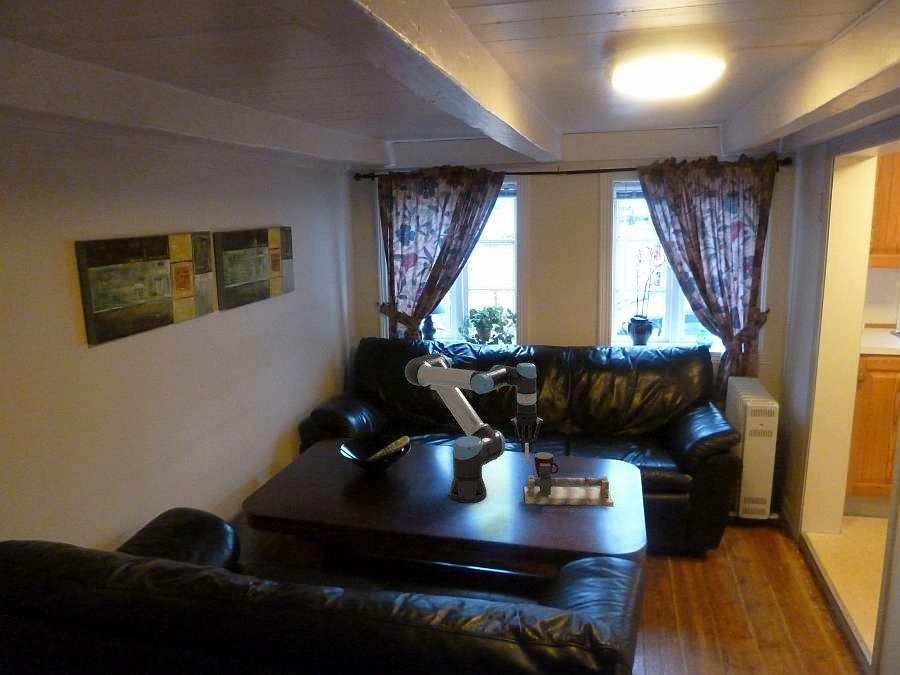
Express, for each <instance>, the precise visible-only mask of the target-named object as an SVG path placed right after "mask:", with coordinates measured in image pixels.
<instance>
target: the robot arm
mask: <svg viewBox="0 0 900 675" xmlns="http://www.w3.org/2000/svg"><path fill="white" fill-rule="evenodd" d="M404 376H405V378H406V380H407V381H408V382H409V383H410V384H412V385H415V386H420V387H427V386H428V387H429V388H430V390H434V391H436V392H437V394H438V395H439V397H440V398H441V400H442V401H443V403H444V404H445V406H446V408H448V410H449V411H450V413H451V414H452V415H453V418H454V419H455V420H456V421H457V423H458V425H459V426H460V427H461V429H462V430H463V432H464V433H465V435H466V436H461V437H459V438H457V439H456V440H455V441H454V443H453V445H452V465H453V466H452V470H453V471H452V472H453V478H452V481H451V483H450V487H449V491H448V492H449V497H450V499H451V500H453V501H456V502H458V503H463V504H466V503H467V504H470V503H472V504H473V503H479V502H480V501H483V500H484V499H486V498H487V496H488V494H487V487H486V484H485V480H484V478H483V466H485V465H487V464H489V463H491V462H493V461H495V460H497V459H498V458H500V457H501V456H503V454H504V453H505V451H506V439H505V437H504V435H503V434H502V432H501V431H499V430H496V429H492V427H491V426H490V425H489V424H488V423H484V422H483V421H482V419H481V418H480V417H479V415H478V414H477V412H476V410H475V409H474V408H473V406H472V405H471V403H470V402H469V401H468V400H467V398H466V397H465V395H464V394H463V393H462V391H461V390H460V389H464V390H470V391H473V392H475V393H476V394H478V395H482V394H487V393H489V392H492V391H494V390H497V389H500V388H502V387H505V386H510V387H516V402H517V403H516V415H515V417H514V418H511V419H510V423H511V425H512V426H513V430H514V434H515V437H516V441H517V444H521V452H522V453H524V461H525V462H529V461H530V453H532V451H533V450H532V448H533V447H532V445H534V444H536V443H537V442H538V441H537V440H538V438H539V437H538V436H539V432H540V429H541V426H542V425H543V423H544V420H543V419H542V418H540V417H538V414H537V403H536V402H537V377H538V376H537V367H536V365H535V364H533V363H531V362H521V363H518V364H517V365H516V367H515V366H508V365H507V366H506V365H504V364H496V365H495V364H494V365H493V366H492V367H491V368H490V369H489V370H487V371H479V370H472V369H471V370H468V369H463V368H462V369H460V368H452V363H451V361H450V359H449V357H448V356H446V355H445V354H443V353H440V352H433V353H428V354H426V355H423V356H419V357H418V356H417V357H414V358H413V359H411V360H409V361H408V363H406V365H405V369H404ZM535 422H536V425H535V430H534V434H533V433H532V432H533V431H532V430H533V428H532V427H533V425H534V424H535ZM517 423H519V424H520V426H521V437H520V433H519V429H518V425H517ZM526 427H528V432H527V434H528V439H527V440H528V442H526ZM532 436H533V437H532Z"/></svg>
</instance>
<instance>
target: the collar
mask: <svg viewBox="0 0 900 675" xmlns="http://www.w3.org/2000/svg"><path fill="white" fill-rule="evenodd" d="M551 475H552V474H550V464H540V468H539V476H538V477H540V485H538V486H539V487H540V495H551V487H552V485H551V478H552V476H551Z"/></svg>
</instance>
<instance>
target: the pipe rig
mask: <svg viewBox="0 0 900 675" xmlns="http://www.w3.org/2000/svg"><path fill="white" fill-rule="evenodd" d="M539 485H540V477H539V476H537V477H536V476H535V475H533V474H531V475H529V474H528V475H527V486H525V485H524V488H523V489H524V500H525V504H526V505H568V506H570V505H572V506H573V505H574V506H575V505H579V506H580V505H581V506H614V500H613V497H612V495H611V492H610V490H609V488H610V481H609V479H608V476H605V475H601V476H600V477H586V476H585V477H551V495H540V487H539Z"/></svg>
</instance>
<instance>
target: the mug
mask: <svg viewBox="0 0 900 675" xmlns="http://www.w3.org/2000/svg"><path fill="white" fill-rule="evenodd" d="M540 464H550V474H551V475H552V474H553V475H554V474H557V473H559V470H560V468H559V465H558V463H556V462H555V461H554V454H552V453H550V452H545V451H544V452H543V451H541V452H537V453H535V454H534V466H535V471H536V474H537V477H539V468H540ZM553 466H555V467H556V469H555V471H553Z"/></svg>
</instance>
